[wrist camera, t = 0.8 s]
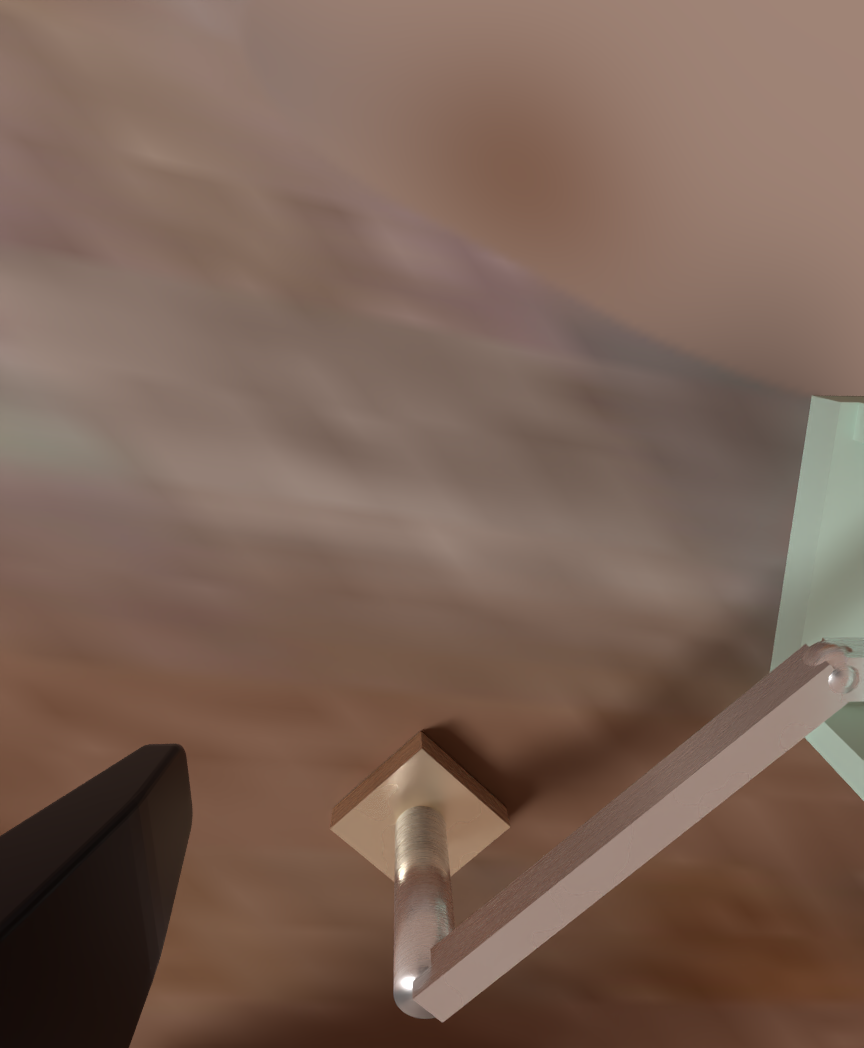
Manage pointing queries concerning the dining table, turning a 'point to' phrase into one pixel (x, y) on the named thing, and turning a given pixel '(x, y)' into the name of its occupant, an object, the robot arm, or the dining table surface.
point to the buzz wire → (583, 857)
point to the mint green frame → (828, 564)
